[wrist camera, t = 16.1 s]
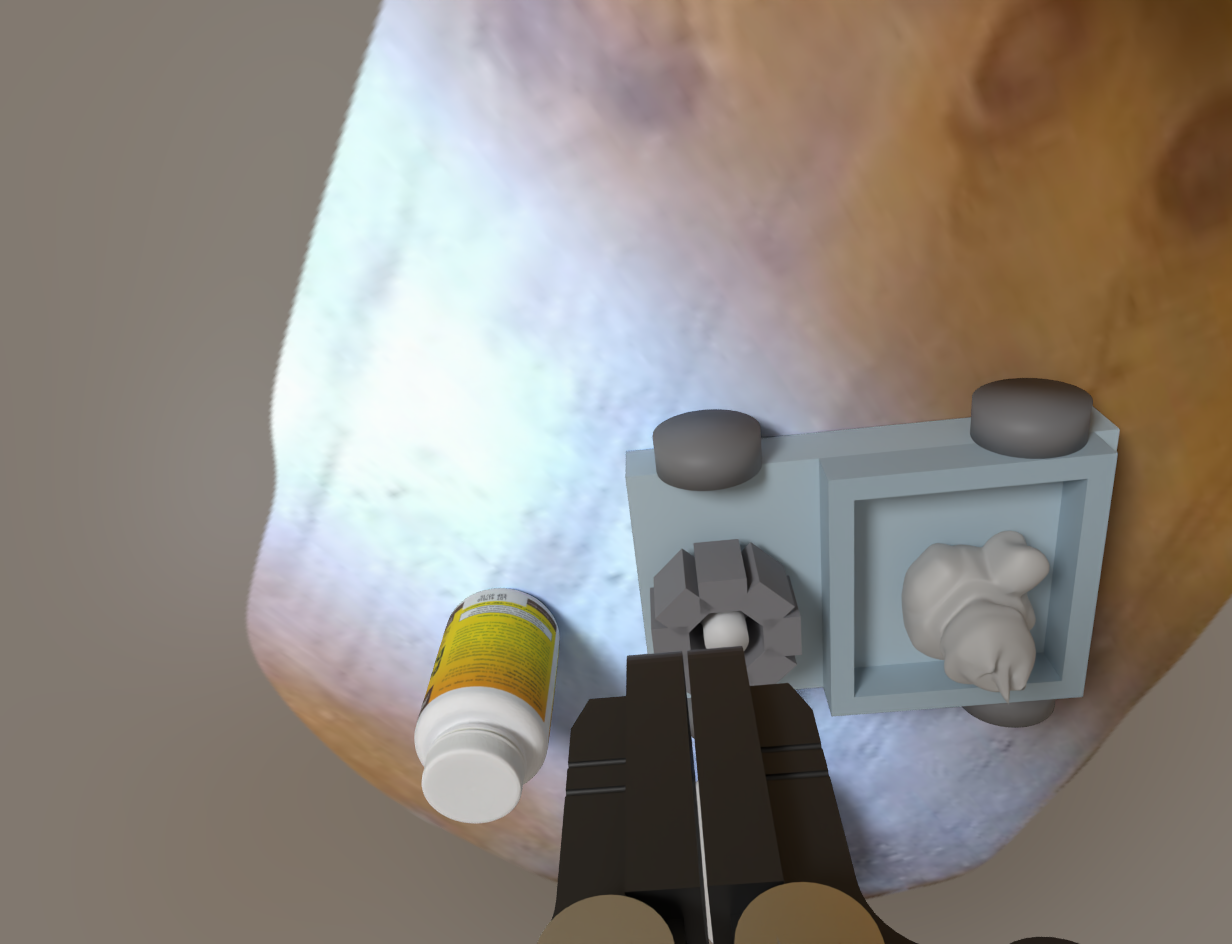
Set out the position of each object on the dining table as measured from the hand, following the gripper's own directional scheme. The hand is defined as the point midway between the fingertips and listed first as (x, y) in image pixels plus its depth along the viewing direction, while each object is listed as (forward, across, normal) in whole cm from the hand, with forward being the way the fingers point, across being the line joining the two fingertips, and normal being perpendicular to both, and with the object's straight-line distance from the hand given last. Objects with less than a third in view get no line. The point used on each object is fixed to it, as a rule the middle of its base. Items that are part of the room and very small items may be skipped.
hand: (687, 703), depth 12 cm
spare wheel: (+24, -2, +15) cm, 28 cm away
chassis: (+27, -8, +15) cm, 32 cm away
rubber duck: (+25, -12, +15) cm, 31 cm away
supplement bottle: (+27, +9, +18) cm, 34 cm away
